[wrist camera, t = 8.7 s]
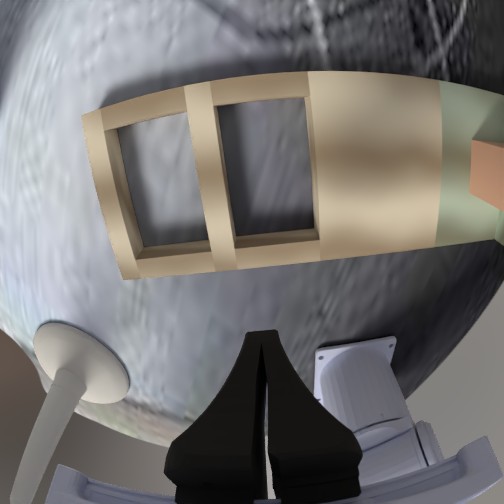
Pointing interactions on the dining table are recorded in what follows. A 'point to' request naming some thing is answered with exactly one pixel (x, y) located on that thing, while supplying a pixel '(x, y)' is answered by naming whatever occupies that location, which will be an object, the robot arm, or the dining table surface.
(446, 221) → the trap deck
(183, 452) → the robot arm
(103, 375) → the candlestick
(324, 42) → the dining table surface
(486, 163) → the terracotta block
